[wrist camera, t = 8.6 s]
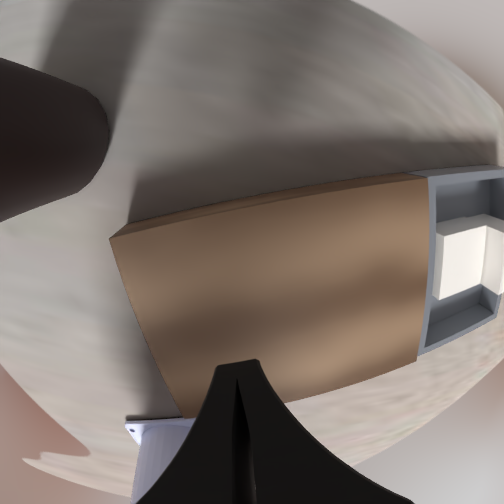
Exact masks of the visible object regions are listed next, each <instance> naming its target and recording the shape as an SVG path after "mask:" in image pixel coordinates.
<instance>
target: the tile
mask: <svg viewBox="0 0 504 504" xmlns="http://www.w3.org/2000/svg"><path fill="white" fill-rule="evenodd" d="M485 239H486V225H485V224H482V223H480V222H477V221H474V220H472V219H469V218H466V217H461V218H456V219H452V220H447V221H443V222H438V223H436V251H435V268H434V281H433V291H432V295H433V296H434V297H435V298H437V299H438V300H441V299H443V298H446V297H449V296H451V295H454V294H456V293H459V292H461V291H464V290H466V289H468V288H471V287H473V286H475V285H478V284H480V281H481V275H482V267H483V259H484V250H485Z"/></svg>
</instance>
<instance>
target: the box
mask: <svg viewBox="0 0 504 504" xmlns="http://www.w3.org/2000/svg"><path fill="white" fill-rule="evenodd" d="M403 173H404V174H409V175H414V176H420V177H425V178H428V189H429V260H428V277H427V289H426V299H425V308H424V316H423V324H422V331H421V337H420V343H419V349H418V354H417V356H420V355H422V354H424V353H427V352H429V351H431V350H433V349H436V348H438V347H440V346H442V345H444V344H446V343H448V342H451V341H453V340H455V339H457V338H459V337H461V336H463V335H465V334H467V333H469V332H471V331H473V330H474V329H476V328H478V327H480V326H482V325H484V324H486V323H487V322H489V321H491V320H493V319H494V318H496V317H497V313H498V308H499V304H500V300H501V295H502V294H500V295H497V294H496V293H494V292H493V291H491V290H489V289H488V288H486V287H485V286H483V285H482V284H478V285H475V286H473V287H471V288H468V289H466V290H464V291H461V292H459V293H456V294H454V295H451V296H449V297H446V298H443V299H441V300H438V299H437V298H435V297H434V296H433V295H432V291H433V281H434V268H435V251H436V223H438V222H443V221H447V220H452V219H456V218H461V217H466V218H467V217H472V216H476V215H480V214H487V215H490V216H492V217H495V218H498V219H501V220H503V221H504V167H501V166H495V165H477V166H464V167H452V168H441V169H431V170H421V171H412V172H403Z"/></svg>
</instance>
